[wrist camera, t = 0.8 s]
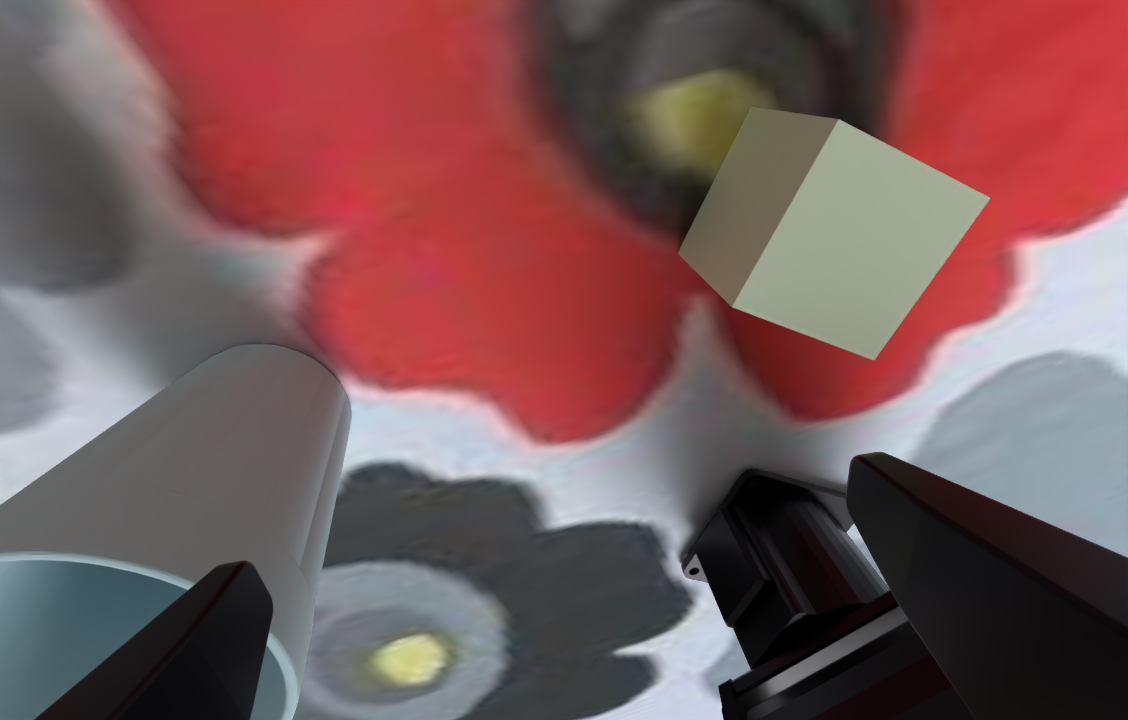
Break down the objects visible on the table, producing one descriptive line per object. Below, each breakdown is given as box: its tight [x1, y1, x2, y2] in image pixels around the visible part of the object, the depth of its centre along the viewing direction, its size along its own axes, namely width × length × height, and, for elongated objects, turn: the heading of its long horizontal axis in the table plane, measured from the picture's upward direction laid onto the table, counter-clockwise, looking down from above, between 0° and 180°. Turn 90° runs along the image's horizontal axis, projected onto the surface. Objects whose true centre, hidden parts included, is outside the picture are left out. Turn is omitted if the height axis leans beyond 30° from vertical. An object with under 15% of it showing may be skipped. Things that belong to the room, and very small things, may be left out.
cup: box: [0, 344, 352, 720], centre depth 15 cm, size 8×8×10 cm
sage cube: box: [677, 107, 990, 360], centre depth 17 cm, size 5×5×5 cm
